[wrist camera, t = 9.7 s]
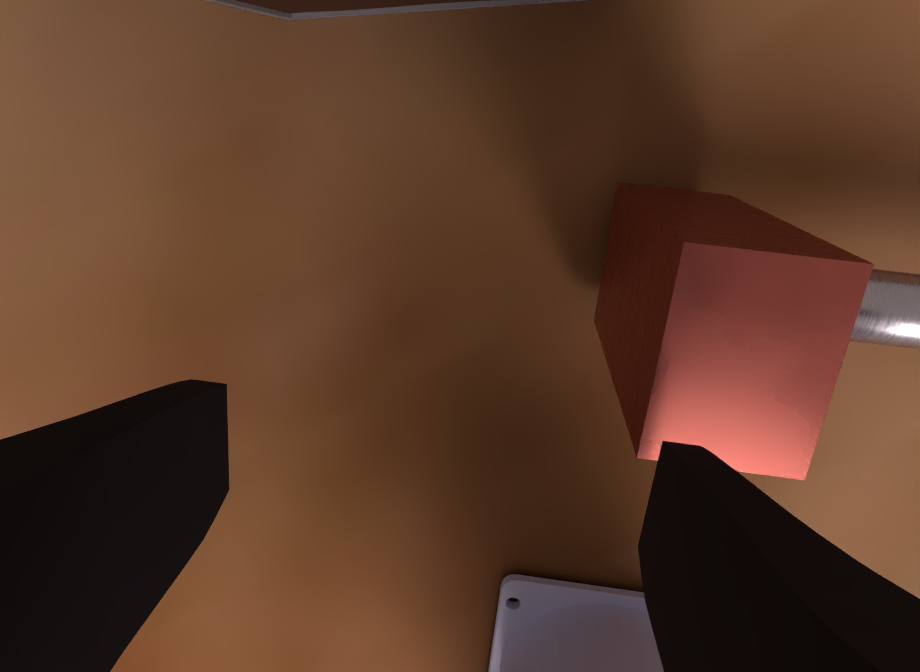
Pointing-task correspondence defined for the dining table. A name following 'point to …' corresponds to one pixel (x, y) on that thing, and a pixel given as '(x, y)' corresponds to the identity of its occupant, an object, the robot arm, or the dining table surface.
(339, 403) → the dining table surface
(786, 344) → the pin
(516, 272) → the dining table surface
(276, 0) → the food container
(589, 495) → the dining table surface
